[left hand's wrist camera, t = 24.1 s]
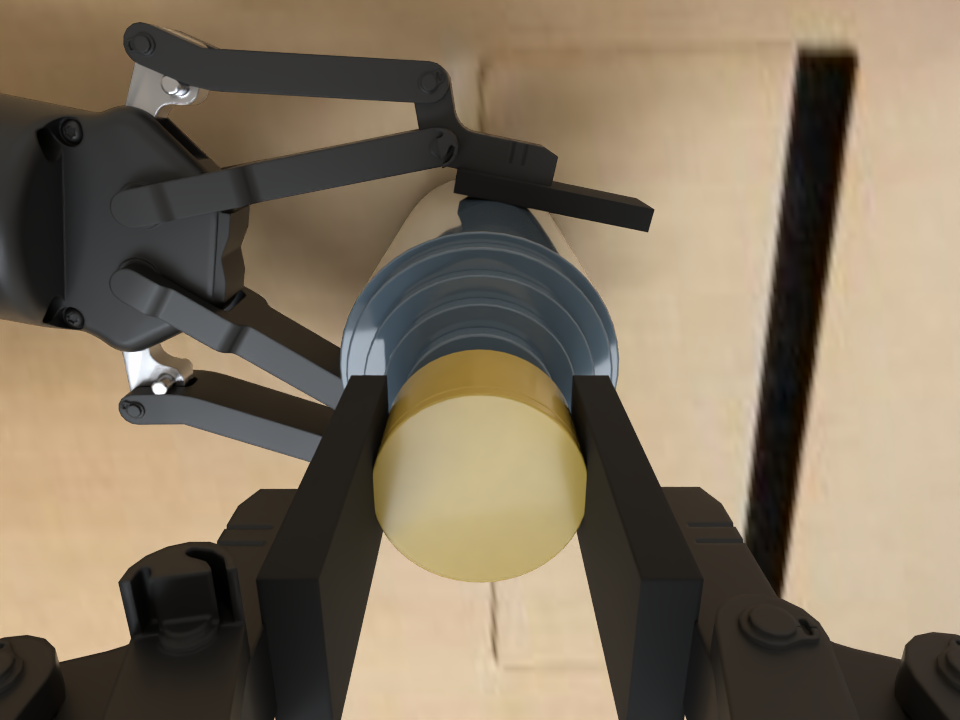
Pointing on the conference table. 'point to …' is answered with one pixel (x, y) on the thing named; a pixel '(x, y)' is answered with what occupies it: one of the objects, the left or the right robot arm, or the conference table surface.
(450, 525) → the cap
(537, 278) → the bottle
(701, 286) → the conference table surface
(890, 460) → the conference table surface
